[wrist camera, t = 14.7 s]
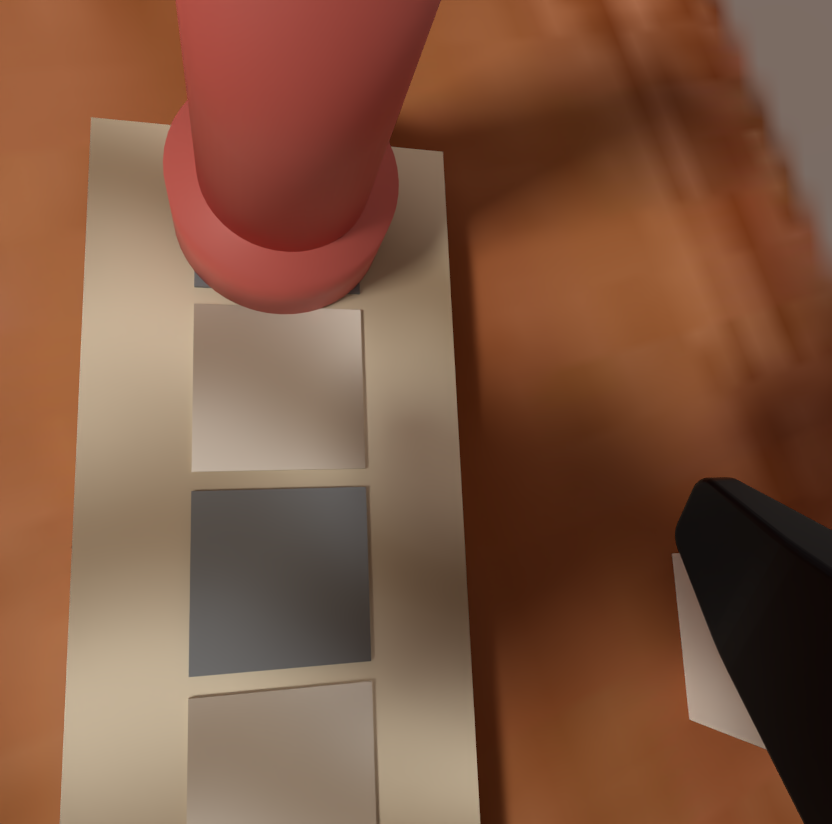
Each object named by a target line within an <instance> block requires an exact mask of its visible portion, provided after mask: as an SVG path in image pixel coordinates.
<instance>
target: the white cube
mask: <svg viewBox="0 0 832 824" xmlns="http://www.w3.org/2000/svg"><path fill="white" fill-rule="evenodd" d="M672 559H673V568H674V578H675V587H676V597H677V606H678V616H679V625H680V634H681V644H682V653H683V663H684V672H685V682H686V691H687V701H688V710H689V719H690V720H692V721H695V722H697V723H700V724H702V725H705V726H707V727H710V728H713V729H715V730H718V731H720V732H723V733H725V734H728V735H731V736H733V737H736V738H738V739H741V740H743V741H746V742H749V743H751V744H754V745H756V746H759V747H761V748H764V749H766V747H765V745H764V743H763V741H762V739H761V737H760V735H759V733H758V731H757V729H756V727H755V725H754V723H753V721H752V719H751V717H750V715H749V713H748V712H747V710H746V708H745V706H744V704H743V702H742V700H741V698H740V696H739V694H738V692H737V690H736V688H735V686H734V684H733V682H732V680H731V678H730V676H729V674H728V672H727V670H726V668H725V665H724V663H723V661H722V659H721V657H720V655H719V653H718V650H717V648H716V645H715V643H714V641H713V638H712V636H711V633H710V631H709V628H708V626H707V623H706V620H705V618H704V615H703V613H702V610H701V608H700V605H699V602H698V600H697V597H696V595H695V592H694V590H693V587H692V584H691V582H690V579H689V577H688V574H687V571H686V569H685V566H684V564H683V561H682V559H681V556H680V553H672ZM766 750H767V749H766Z"/></svg>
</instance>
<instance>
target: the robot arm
mask: <svg viewBox="0 0 832 824" xmlns="http://www.w3.org/2000/svg"><path fill="white" fill-rule="evenodd" d="M675 540H676V545H677V548H678V551H679V553H680V556H681V559H682V561H683V564H684V566H685V569H686V571H687V574H688V577H689V579H690V582H691V584H692V587H693V590H694V592H695V595H696V597H697V600H698V602H699V605H700V608H701V610H702V613H703V615H704V618H705V620H706V623H707V626H708V628H709V631H710V633H711V636H712V638H713V641H714V643H715V645H716V648H717V650H718V653H719V655H720V657H721V659H722V661H723V663H724V665H725V668H726V670H727V672H728V674H729V676H730V678H731V680H732V682H733V684H734V686H735V688H736V690H737V692H738V694H739V696H740V698H741V700H742V702H743V704H744V706H745V708H746V710H747V712H748V713H749V715H750V717H751V719H752V721H753V723H754V725H755V727H756V729H757V731H758V733H759V735H760V737H761V739H762V741H763V743H764V745H765V747H766V749H767V751H768V753H769V755H770V757H771V759H772V761H773V763H774V765H775V767H776V769H777V771H778V773H779V775H780V777H781V779H782V781H783V783H784V785H785V787H786V789H787V791H788V793H789V795H790V797H791V799H792V801H793V803H794V805H795V807H796V809H797V811H798V813H799V815H800V817H801V819H802V821H803V823H804V824H832V530H830V529H828V528H826V527H825V526H823V525H821V524H819V523H817V522H815V521H813V520H811V519H810V518H808V517H806V516H804V515H802V514H800V513H798V512H796V511H795V510H793V509H791V508H789V507H787V506H785V505H783V504H782V503H780V502H778V501H776V500H774V499H772V498H770V497H768V496H767V495H765V494H763V493H761V492H759V491H757V490H755V489H753V488H752V487H750V486H748V485H746V484H744V483H742V482H740V481H739V480H736V479H734V478H728V477H720V478H704V479H701V480H700V481H698V482H697V483H696V484H695V486H694V488H693V490H692V492H691V494H690V496H689V499H688V501H687V503H686V505H685V507H684V510H683V512H682V514H681V516H680V518H679V521H678V523H677V526H676V530H675Z"/></svg>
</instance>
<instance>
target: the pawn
mask: <svg viewBox="0 0 832 824" xmlns="http://www.w3.org/2000/svg"><path fill="white" fill-rule="evenodd" d="M440 1H441V0H176V7H177V15H178V24H179V32H180V40H181V49H182V57H183V65H184V74H185V82H186V90H187V99H188V100H187V101H186V102H185V104H184V105H183V106H182V107H181V108H180V110H179V112H178V113H177V115H176V116H175V118H174V120H173V122H172V124H171V126H170V129H169V131H168V134H167V138H166V142H165V145H164V154H163V174H164V180H165V185H166V190H167V195H168V199H169V204H170V209H171V214H172V218H173V223H174V228H175V233H176V237H177V239H178V242H179V245H180V248H181V250H182V252H183V254H184V256H185V258H186V260H187V261H188V263H189V264H190V265H191V267H192V268H193V270H194V271H195V272H196V273H197V274H198V276H199V277H200V278H201V279H202V280H203V281H204V282H205V283H206V284H207V285H209V286H210V287H211V288H212V289H213V290H214V291H216V292H217V293H219V294H220V295H222V296H223V297H225V298H226V299H228V300H230V301H232V302H234V303H236V304H238V305H241V306H243V307H246V308H249V309H252V310H256V311H260V312H265V313H272V314H299V313H305V312H310V311H314V310H317V309H321V308H323V307H325V306H328V305H330V304H332V303H334V302H336V301H337V300H339V299H341V298H342V297H344V296H345V295H346V294H348V293H349V292H350V291H351V290H353V289H354V288H355V287H356V286H357V284H358V283H359V282H360V281H361V280H362V279H363V277H364V276H365V274H366V273H367V272H368V270H369V268H370V266H371V264H372V262H373V260H374V258H375V256H376V254H377V252H378V249H379V247H380V245H381V243H382V241H383V239H384V237H385V234H386V232H387V230H388V228H389V226H390V224H391V221H392V219H393V216H394V213H395V210H396V206H397V200H398V194H399V178H398V169H397V164H396V160H395V156H394V153H393V150H392V148H391V145H390V143H389V140H390V138H391V135H392V132H393V129H394V127H395V124H396V121H397V119H398V116H399V113H400V110H401V108H402V105H403V102H404V99H405V97H406V94H407V91H408V88H409V86H410V83H411V80H412V78H413V75H414V72H415V69H416V67H417V64H418V61H419V58H420V56H421V53H422V50H423V47H424V45H425V42H426V39H427V37H428V34H429V31H430V28H431V26H432V23H433V20H434V17H435V15H436V12H437V9H438V7H439V4H440Z"/></svg>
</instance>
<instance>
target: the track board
mask: <svg viewBox="0 0 832 824" xmlns="http://www.w3.org/2000/svg"><path fill="white" fill-rule="evenodd" d="M170 126H171V125H164V124H154V123H143V122H133V121H123V120H113V119H102V118H92V117H91V133H90V156H89V178H88V201H87V223H86V246H85V268H84V291H83V313H82V336H81V358H80V381H79V403H78V426H77V448H76V471H75V493H74V516H73V538H72V561H71V583H70V606H69V628H68V651H67V673H66V696H65V718H64V741H63V763H62V786H61V808H60V824H480V808H479V790H478V772H477V754H476V736H475V718H474V700H473V683H472V665H471V647H470V629H469V611H468V593H467V575H466V557H465V539H464V521H463V503H462V485H461V467H460V449H459V431H458V413H457V395H456V377H455V359H454V342H453V324H452V306H451V288H450V270H449V252H448V234H447V216H446V198H445V180H444V162H443V152H440V151H430V150H420V149H410V148H399V147H391V148H392V150H393V153H394V156H395V160H396V164H397V169H398V178H399V194H398V200H397V206H396V210H395V213H394V216H393V219H392V221H391V224H390V226H389V228H388V230H387V232H386V234H385V237H384V239H383V241H382V243H381V245H380V247H379V249H378V252H377V254H376V256H375V258H374V260H373V262H372V264H371V266H370V268H369V270H368V272H367V273H366V274H365V276H364V277H363V279H362V280H361V281H360V282H359V283H358V284H357V286H356V287H355V288H354V289H353V290H351V291H350V292H349V293H348V294H346V295H345V296H344V297H342V298H341V299H339V300H337V301H336V302H334V303H332V304H330V305H328V306H325V307H323V308H321V309H317V310H314V311H310V312H305V313H299V314H272V313H265V312H260V311H256V310H252V309H249V308H246V307H243V306H241V305H238V304H236V303H234V302H232V301H230V300H228V299H226V298H225V297H223V296H222V295H220V294H219V293H217V292H216V291H214V290H213V289H212V288H211V287H210V286H209V285H207V284H206V283H205V282H204V281H203V280H202V279H201V278H200V277H199V276H198V274H197V273H196V272H195V271H194V270H193V268H192V267H191V265H190V264H189V263H188V261H187V260H186V258H185V256H184V254H183V252H182V250H181V248H180V245H179V242H178V239H177V237H176V233H175V228H174V223H173V218H172V214H171V209H170V204H169V199H168V195H167V190H166V185H165V180H164V174H163V154H164V145H165V142H166V138H167V134H168V131H169V129H170Z"/></svg>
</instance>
